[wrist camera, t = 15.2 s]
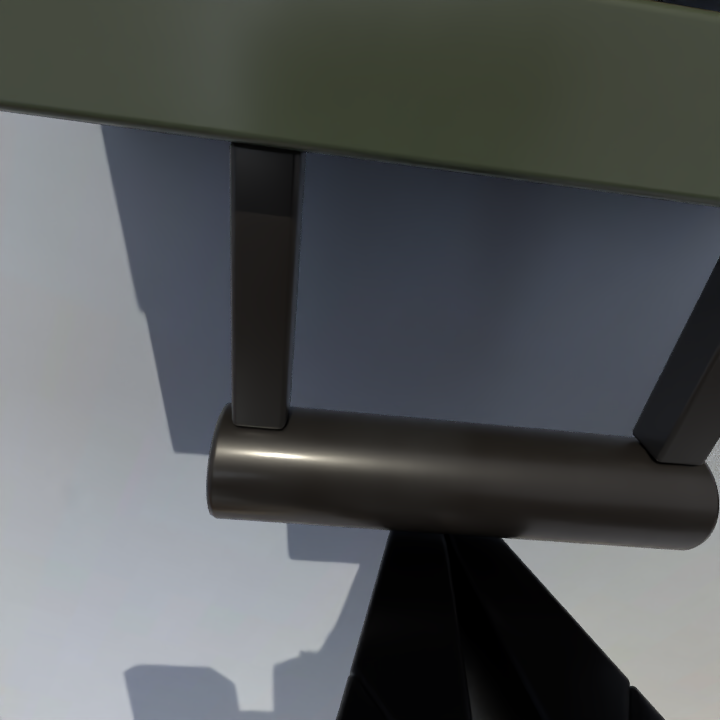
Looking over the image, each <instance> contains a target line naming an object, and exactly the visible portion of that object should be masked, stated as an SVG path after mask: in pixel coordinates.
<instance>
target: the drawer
mask: <svg viewBox="0 0 720 720" xmlns="http://www.w3.org/2000/svg"><path fill="white" fill-rule="evenodd" d="M0 111H4V112H12V113H19V114H27V115H34V116H42V117H49V118H56V119H64V120H71V121H79V122H86V123H94V124H101V125H109V126H116V127H124V128H131V129H139V130H146V131H153V132H161V133H168V134H176V135H183V136H191V137H198V138H206V139H213V140H221V141H228V142H231V145H230V263H231V385H232V402H230V403H227V404H226V405H225V406H224V408H223V410H222V412H221V414H220V416H219V418H218V421H217V423H216V426H215V430H214V434H213V438H212V442H211V447H210V453H209V459H208V467H207V480H206V496H207V504H208V509H209V513H210V514H211V515H212V516H214V517H215V518H219V519H234V520H248V521H263V522H278V523H292V524H307V525H321V526H336V527H350V528H365V529H379V530H394V531H409V532H423V533H438V534H452V535H467V536H481V537H496V538H510V539H525V540H540V541H554V542H569V543H583V544H598V545H612V546H627V547H641V548H656V549H671V550H689V549H692V548H694V547H696V546H698V545H700V544H702V543H703V542H704V541H706V540H707V539H708V537H709V536H710V535H711V533H712V532H713V530H714V528H715V525H716V523H717V519H718V513H719V495H718V489H717V485H716V482H715V479H714V476H713V474H712V472H711V470H710V468H709V467H708V465H707V463H706V462H705V460H706V459H707V457H708V455H709V454H710V452H711V451H712V449H713V447H714V446H715V444H716V442H717V441H718V439H719V438H720V257H719V259H718V261H717V263H716V265H715V267H714V269H713V271H712V273H711V275H710V277H709V279H708V281H707V283H706V285H705V287H704V289H703V291H702V293H701V295H700V297H699V299H698V301H697V303H696V305H695V307H694V309H693V311H692V313H691V315H690V317H689V319H688V321H687V323H686V325H685V327H684V329H683V331H682V333H681V335H680V337H679V339H678V341H677V343H676V345H675V347H674V349H673V351H672V353H671V355H670V357H669V359H668V361H667V363H666V365H665V367H664V369H663V371H662V373H661V375H660V377H659V379H658V381H657V383H656V385H655V387H654V389H653V391H652V393H651V395H650V397H649V399H648V401H647V403H646V405H645V407H644V409H643V411H642V413H641V415H640V417H639V419H638V421H637V423H636V425H635V427H634V429H633V435H634V436H635V437H627V436H615V435H604V434H593V433H582V432H570V431H559V430H548V429H537V428H526V427H514V426H503V425H492V424H481V423H470V422H458V421H447V420H436V419H425V418H413V417H402V416H391V415H380V414H369V413H357V412H346V411H335V410H324V409H313V408H301V407H290V401H291V386H292V370H293V355H294V339H295V323H296V308H297V292H298V276H299V261H300V245H301V229H302V214H303V198H304V182H305V167H306V152H310V153H317V154H325V155H332V156H340V157H347V158H355V159H362V160H370V161H377V162H385V163H392V164H400V165H407V166H414V167H422V168H429V169H437V170H444V171H452V172H459V173H467V174H474V175H482V176H489V177H496V178H504V179H511V180H519V181H526V182H534V183H541V184H549V185H556V186H564V187H571V188H578V189H586V190H593V191H601V192H608V193H616V194H623V195H631V196H638V197H646V198H653V199H660V200H668V201H675V202H683V203H690V204H698V205H705V206H713V207H720V12H717V11H711V10H706V9H700V8H694V7H688V6H682V5H676V4H670V3H665V2H659V1H653V0H0Z"/></svg>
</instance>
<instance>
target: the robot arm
mask: <svg viewBox="0 0 720 720" xmlns="http://www.w3.org/2000/svg"><path fill="white" fill-rule="evenodd" d="M336 720H665V719H664V718H663V717H662V716H661V715H660V714H659V712H658V711H657V710H656V709H655V708H654V707H653V706H652V705H651V704H650V702H649V701H648V700H647V699H646V698H645V697H644V696H643V695H642V694H641V692H640V691H639V690H638V689H637V688H636V687H634V686H630V682H629V680H628V678H627V677H626V676H625V675H624V674H623V673H622V672H621V671H620V669H619V668H618V667H617V666H616V665H615V664H614V663H613V662H612V661H611V659H610V658H609V657H608V656H607V655H606V654H605V653H604V652H603V651H602V649H601V648H600V647H599V646H598V645H597V644H596V643H595V642H594V641H593V639H592V638H591V637H590V636H589V635H588V634H587V633H586V632H585V631H584V629H583V628H582V627H581V626H580V625H579V624H578V623H577V622H576V621H575V619H574V618H573V617H572V616H571V615H570V614H569V613H568V612H567V610H566V609H565V608H564V607H563V606H562V605H561V604H560V603H559V602H558V600H557V599H556V598H555V597H554V596H553V595H552V594H551V593H550V592H549V590H548V589H547V588H546V587H545V586H544V585H543V584H542V583H541V582H540V580H539V579H538V578H537V577H536V576H535V575H534V574H533V573H532V572H531V570H530V569H529V568H528V567H527V566H526V565H525V564H524V563H523V562H522V560H521V559H520V558H519V557H518V556H517V555H516V554H515V553H514V552H513V550H512V549H511V548H510V547H509V546H508V545H507V544H506V543H505V542H504V540H503V539H502V538H496V537H481V536H467V535H452V534H438V533H423V532H409V531H394V530H390V532H389V536H388V539H387V543H386V546H385V550H384V553H383V557H382V561H381V564H380V568H379V571H378V575H377V578H376V582H375V585H374V589H373V592H372V596H371V599H370V603H369V607H368V610H367V614H366V617H365V621H364V624H363V628H362V631H361V635H360V638H359V642H358V645H357V649H356V653H355V656H354V660H353V663H352V667H351V671H350V676H349V677H348V680H347V683H346V687H345V690H344V694H343V697H342V701H341V704H340V708H339V711H338V714H337V717H336Z"/></svg>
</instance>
